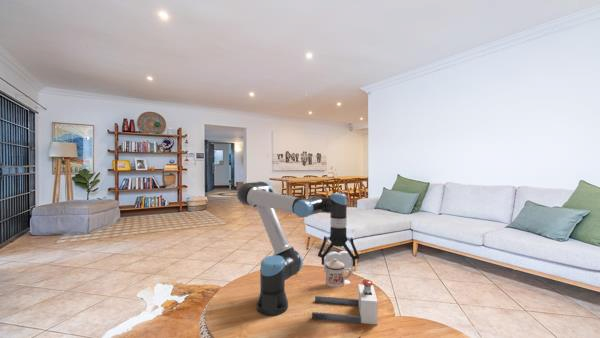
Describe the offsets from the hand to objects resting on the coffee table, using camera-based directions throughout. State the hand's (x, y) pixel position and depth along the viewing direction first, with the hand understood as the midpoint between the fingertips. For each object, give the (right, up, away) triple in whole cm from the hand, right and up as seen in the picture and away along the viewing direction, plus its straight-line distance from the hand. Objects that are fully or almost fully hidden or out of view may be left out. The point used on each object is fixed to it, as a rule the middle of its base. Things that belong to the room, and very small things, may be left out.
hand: (338, 272), depth 126 cm
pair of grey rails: (-1, -18, 0) cm, 19 cm away
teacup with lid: (0, -5, 0) cm, 5 cm away
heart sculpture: (+5, -18, +32) cm, 37 cm away
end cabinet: (+13, -19, -2) cm, 23 cm away
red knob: (+13, -11, -2) cm, 17 cm away
